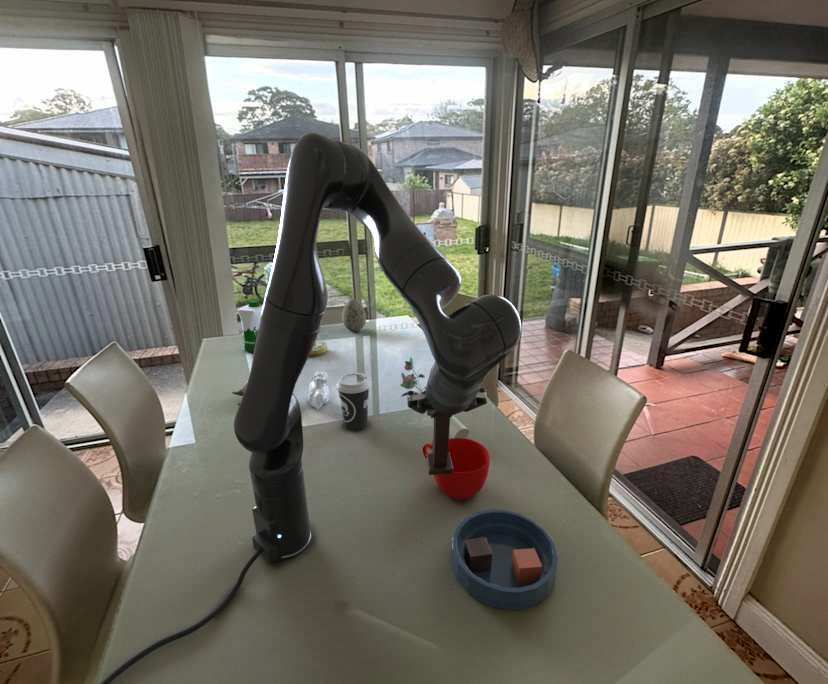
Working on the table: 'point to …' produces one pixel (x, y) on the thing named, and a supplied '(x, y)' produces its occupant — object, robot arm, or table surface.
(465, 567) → the bowl
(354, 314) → the decorative egg
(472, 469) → the ceramic cup
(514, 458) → the table surface
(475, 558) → the walnut block
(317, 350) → the decorated donut
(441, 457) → the wooden post with base
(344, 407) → the coffee cup
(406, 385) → the flower vase
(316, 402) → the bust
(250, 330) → the soya milk
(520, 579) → the terracotta block
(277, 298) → the robot arm
